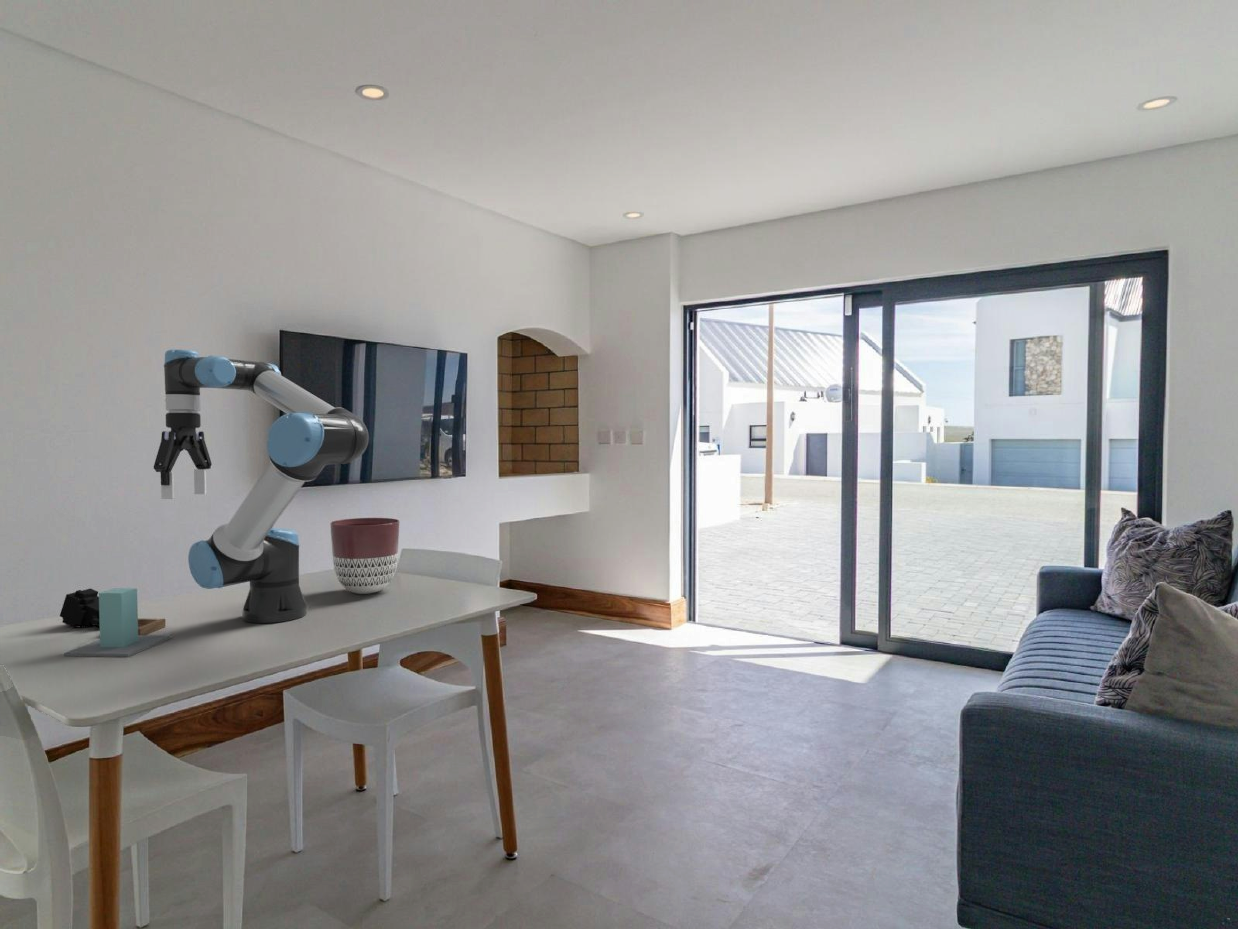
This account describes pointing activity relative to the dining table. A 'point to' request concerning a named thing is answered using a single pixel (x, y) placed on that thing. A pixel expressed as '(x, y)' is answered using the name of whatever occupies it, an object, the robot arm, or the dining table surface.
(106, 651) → the pad
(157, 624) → the wooden square frame
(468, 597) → the dining table surface
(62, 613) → the toy
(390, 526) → the planter
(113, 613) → the block
